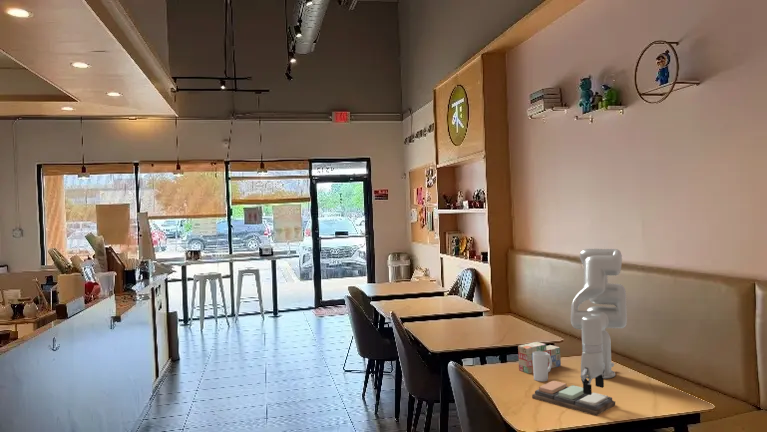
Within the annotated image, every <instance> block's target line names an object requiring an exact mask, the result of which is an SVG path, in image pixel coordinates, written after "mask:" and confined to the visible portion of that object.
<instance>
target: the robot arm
mask: <svg viewBox="0 0 767 432" xmlns="http://www.w3.org/2000/svg"><path fill="white" fill-rule="evenodd" d="M579 259H580V262H581V265H583V266H582V267H583V278H582V279H583V280H582V282H583V283H582V288H581V290H579V291H578V292H577V293H576V294H575V296H574V298H573V299H572V302H571V304H570V324H571V326H572V328H574V329H576V330H581V351H582V352H581V358H580V379H581V383H582V388H583V393H585V394H588V395H591V394H592V393H593V391H592V390H593V389H592V384H591V383H592V380H593V379H595V380H594V381H595V387H598V388H602V389H603V388H604V387H605V383H604V382H605V380H604V379H611V378H614V377H616V372H615V371H614V370H612V368H613V367H614V366H615V363H614V362H612V346H611V344H612V343H611V336H610V333H609V332H608V331H607V330H606V329H624V328H625V327H626V326H627V324H628V314H627V313H628V307H627V293H626V288H625V286H624V285H623V284H621V283H609V282H608V280H609V278H608V276H619V275H620V273H621V270H622V263H623V255H622V252H621V251H620V250H619V249H618V248H585V249H583V250H580V252H579ZM588 300H589V302H590V303H592V304H595V305H593V306H589V307H588V308H587V309H586V310H579V307H580V305H581V304H583V303H584V302H586V301H588ZM599 305H601V306H599ZM603 305H612V306H603Z"/></svg>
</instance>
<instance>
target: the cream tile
mask: <svg viewBox="0 0 767 432" xmlns="http://www.w3.org/2000/svg"><path fill="white" fill-rule="evenodd" d="M608 397H609V396H608V395H606V394H602V393H598V392H593V391H592V394H591V395H588V396H586V397H584V398H582V399H580V402H582V403H586V404H590V405H593V406H595V405H597V404H599V403H601V402H602V401H604V400H606V399H608Z"/></svg>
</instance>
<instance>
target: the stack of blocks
mask: <svg viewBox="0 0 767 432" xmlns="http://www.w3.org/2000/svg"><path fill="white" fill-rule="evenodd" d="M517 349H518V350H517V351H518V352H517V355H518V356H517V357H518V371H519V372H522V373H525V374H533V352H536V351H542V352H547V353H548V354H550V356H551V359H552V366H551V369H553V368H557V367H561V366H562V365H561V364H562V362H561V348H560V347H559V346H557V345H551V344H549V345H547V344H546V343H544V342H539V341H535V342H534V341H533V342H531V343H530V342H529V343H525V344H521V345H518V346H517ZM549 363H550V361H549V358H548V367H549Z"/></svg>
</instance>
